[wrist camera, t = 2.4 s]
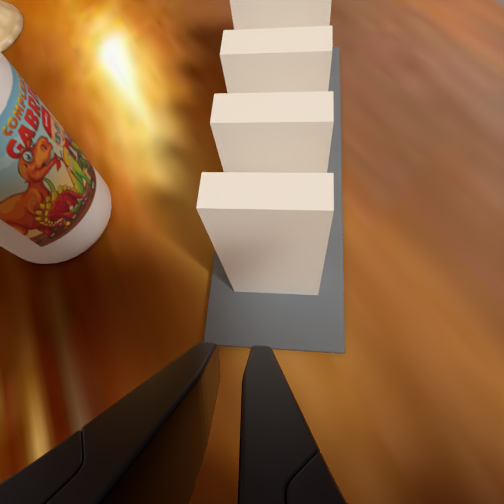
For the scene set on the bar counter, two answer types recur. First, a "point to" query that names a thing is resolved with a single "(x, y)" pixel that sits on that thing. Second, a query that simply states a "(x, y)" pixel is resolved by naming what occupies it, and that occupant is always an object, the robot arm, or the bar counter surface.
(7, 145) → the milk bottle
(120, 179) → the bar counter surface
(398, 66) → the bar counter surface
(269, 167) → the domino
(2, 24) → the hand bell
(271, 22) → the domino
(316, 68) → the domino
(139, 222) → the bar counter surface
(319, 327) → the runner mat
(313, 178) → the domino
